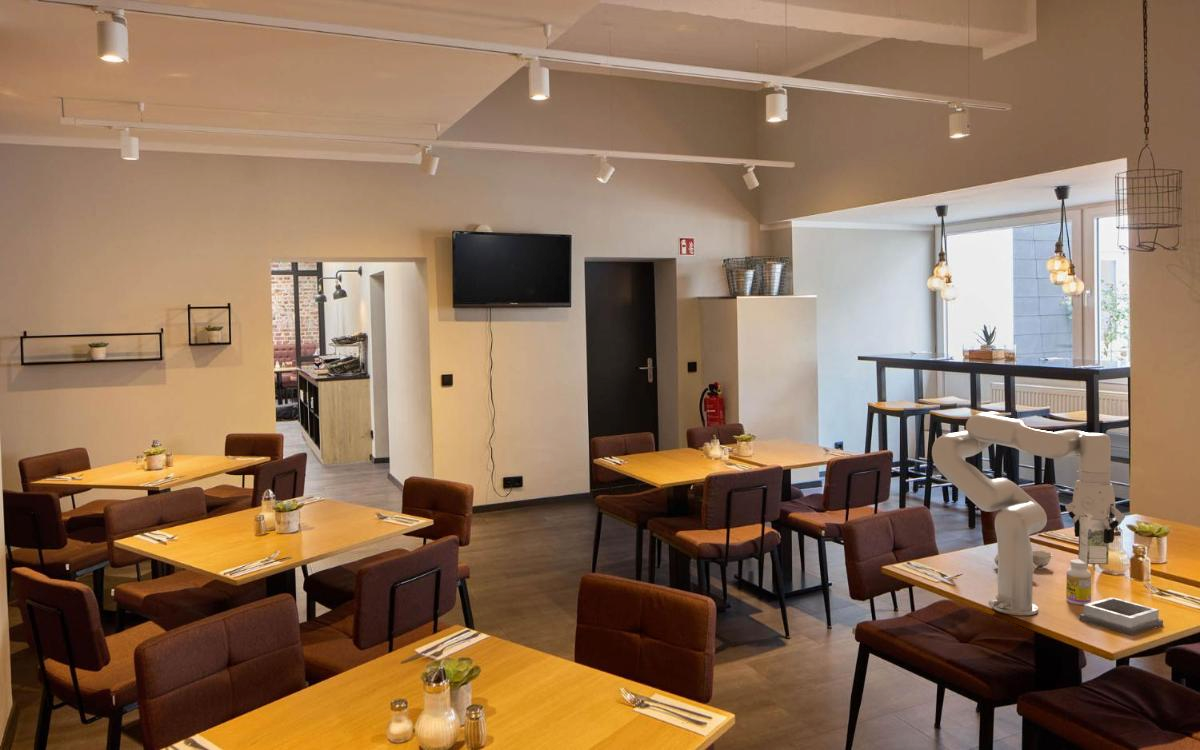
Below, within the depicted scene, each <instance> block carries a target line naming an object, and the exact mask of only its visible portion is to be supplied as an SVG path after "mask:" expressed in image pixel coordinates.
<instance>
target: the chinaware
mask: <svg viewBox="0 0 1200 750" xmlns="http://www.w3.org/2000/svg"><path fill="white" fill-rule="evenodd" d="M1032 552H1033V574H1034V573H1035V570H1037V569H1038V570H1043V568H1045V567H1046V566H1047V565H1049V563H1050V562H1051V558H1052V557H1053V552H1046V551H1044V550H1041V549H1040V550H1038V549H1037V550H1032ZM993 561H994V563H995V565H996V566H997V567H998V553H997V554H996V556H995V557H994V559H993ZM1036 568H1037V569H1036Z"/></svg>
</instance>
